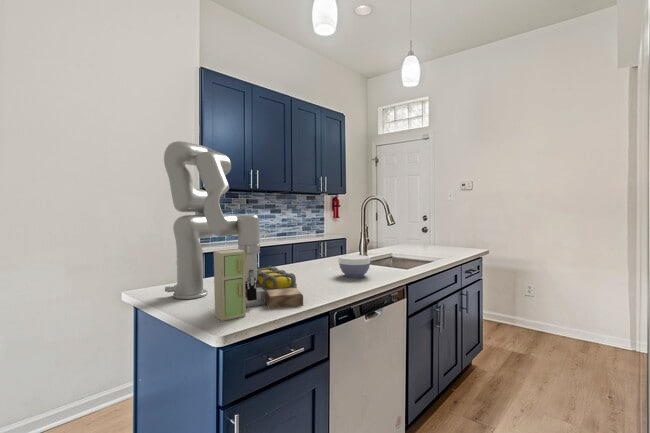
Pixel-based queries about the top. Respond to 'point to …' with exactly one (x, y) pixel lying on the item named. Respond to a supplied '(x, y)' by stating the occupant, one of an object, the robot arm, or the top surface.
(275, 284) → the cage light
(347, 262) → the bowl
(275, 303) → the stand
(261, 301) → the block
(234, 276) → the toy refrigerator
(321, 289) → the top surface
